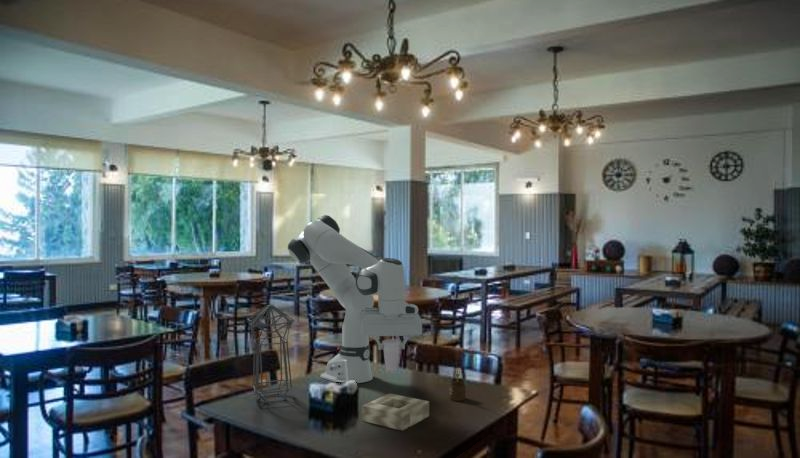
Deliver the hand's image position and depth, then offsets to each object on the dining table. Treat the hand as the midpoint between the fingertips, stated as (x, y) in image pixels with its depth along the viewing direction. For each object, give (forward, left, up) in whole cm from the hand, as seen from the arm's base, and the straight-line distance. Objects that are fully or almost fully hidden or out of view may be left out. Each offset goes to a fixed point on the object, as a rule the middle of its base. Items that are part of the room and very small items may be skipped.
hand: (391, 349), depth 185 cm
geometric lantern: (-49, -8, -23) cm, 55 cm away
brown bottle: (+8, +31, -23) cm, 40 cm away
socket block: (+1, +1, -23) cm, 23 cm away
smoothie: (0, 0, -7) cm, 7 cm away
